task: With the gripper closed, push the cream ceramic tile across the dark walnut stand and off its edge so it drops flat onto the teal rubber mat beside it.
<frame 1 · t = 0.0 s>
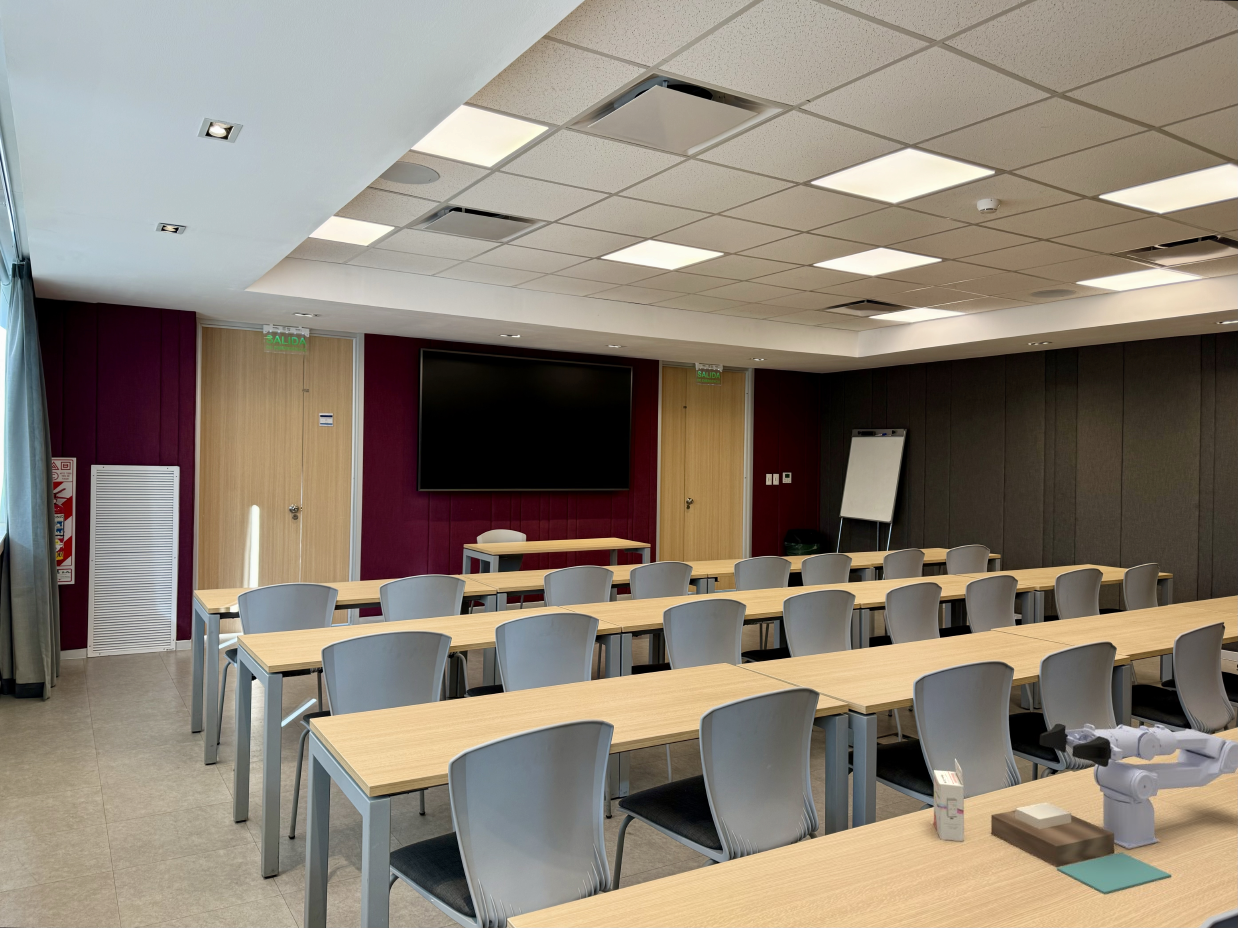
hand: (1057, 745, 167), 22 cm above the table, tool horizontal, fingers open, 7 cm apart
tile: (1043, 815, 174), point 5 cm above the table, touching stand
mat: (1113, 873, 159), on the table
stand: (1051, 843, 172), on the table
ink cartridge box: (948, 833, 177), on the table
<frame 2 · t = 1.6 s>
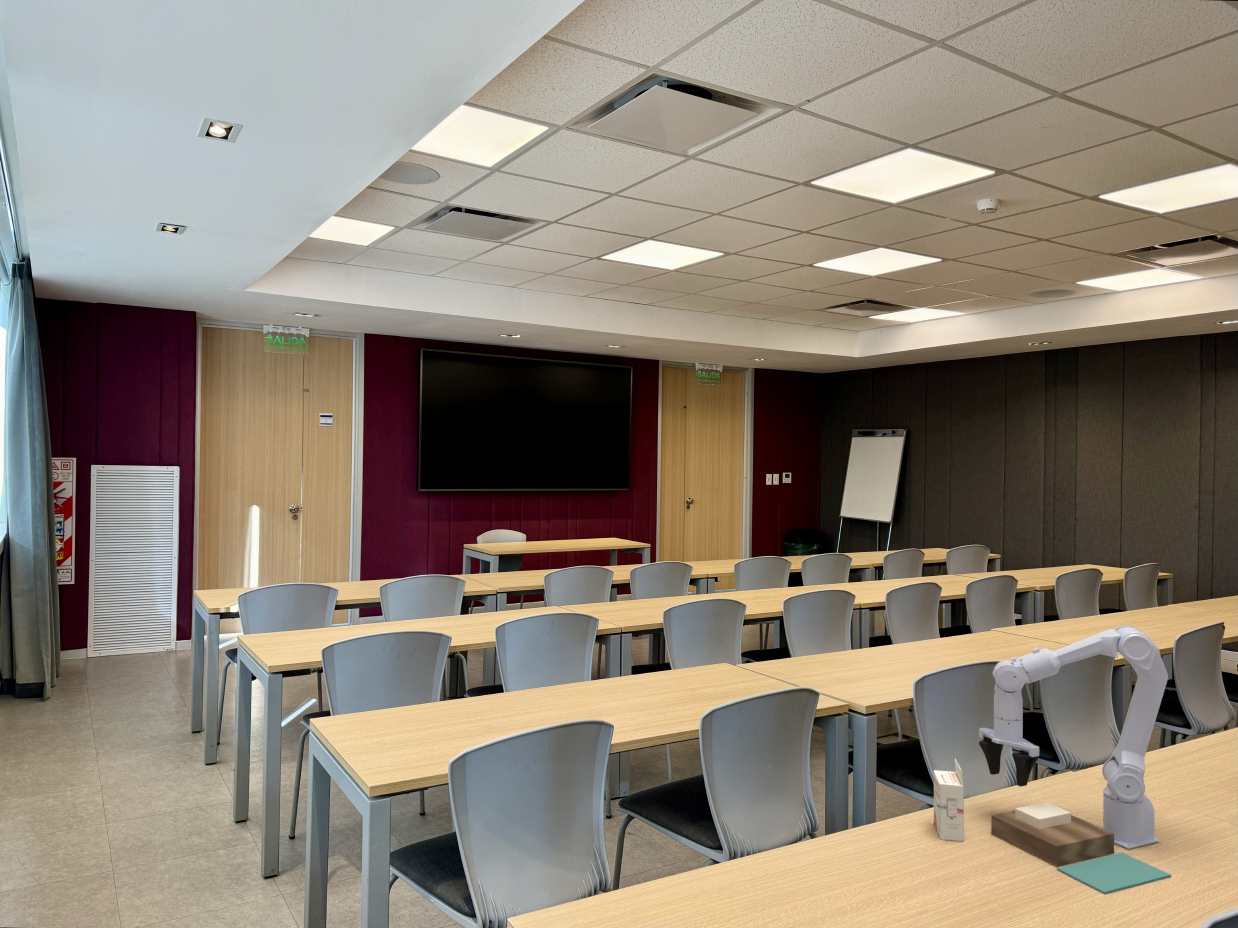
hand: (1008, 779, 182), 9 cm above the table, tool pointing down, fingers open, 7 cm apart
nothing on the table moved.
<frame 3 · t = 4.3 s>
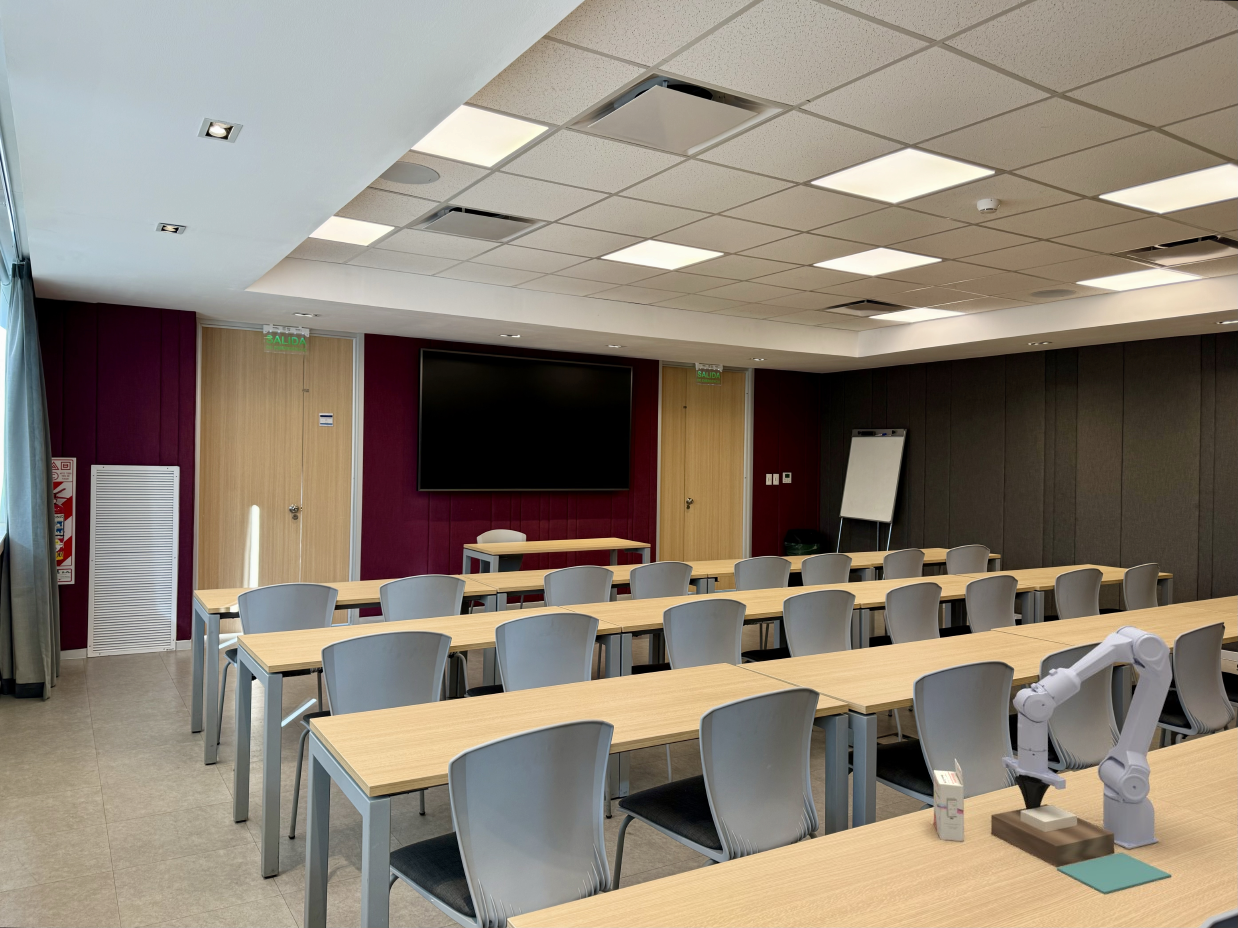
hand: (1032, 811, 176), 5 cm above the table, tool pointing down, fingers closed
tile: (1048, 817, 173), point 5 cm above the table, touching gripper, stand
everything else where it was.
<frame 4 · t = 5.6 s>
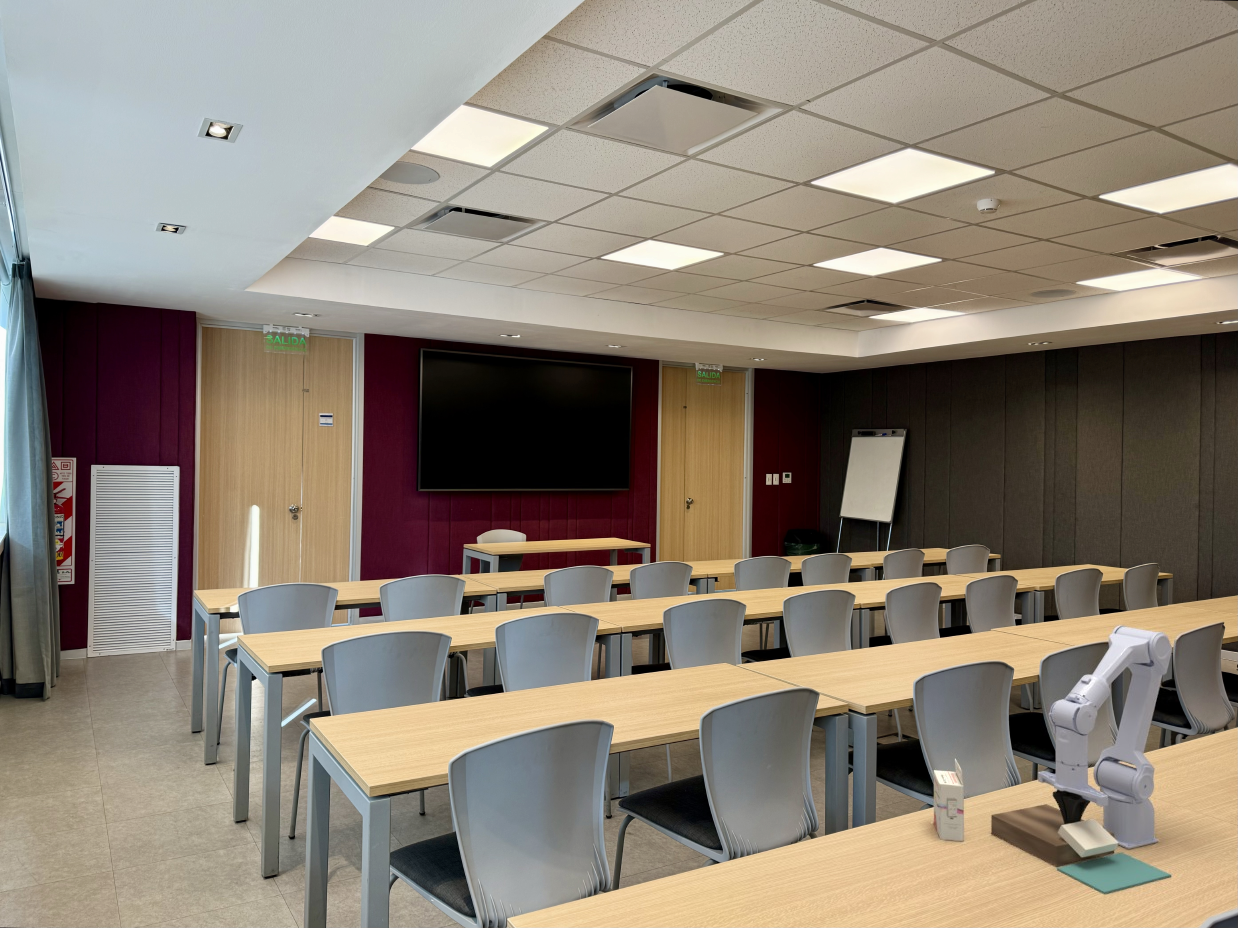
hand: (1071, 829, 168), 5 cm above the table, tool pointing down, fingers closed
tile: (1088, 837, 164), point 5 cm above the table, tilted 25°
everything else where it was.
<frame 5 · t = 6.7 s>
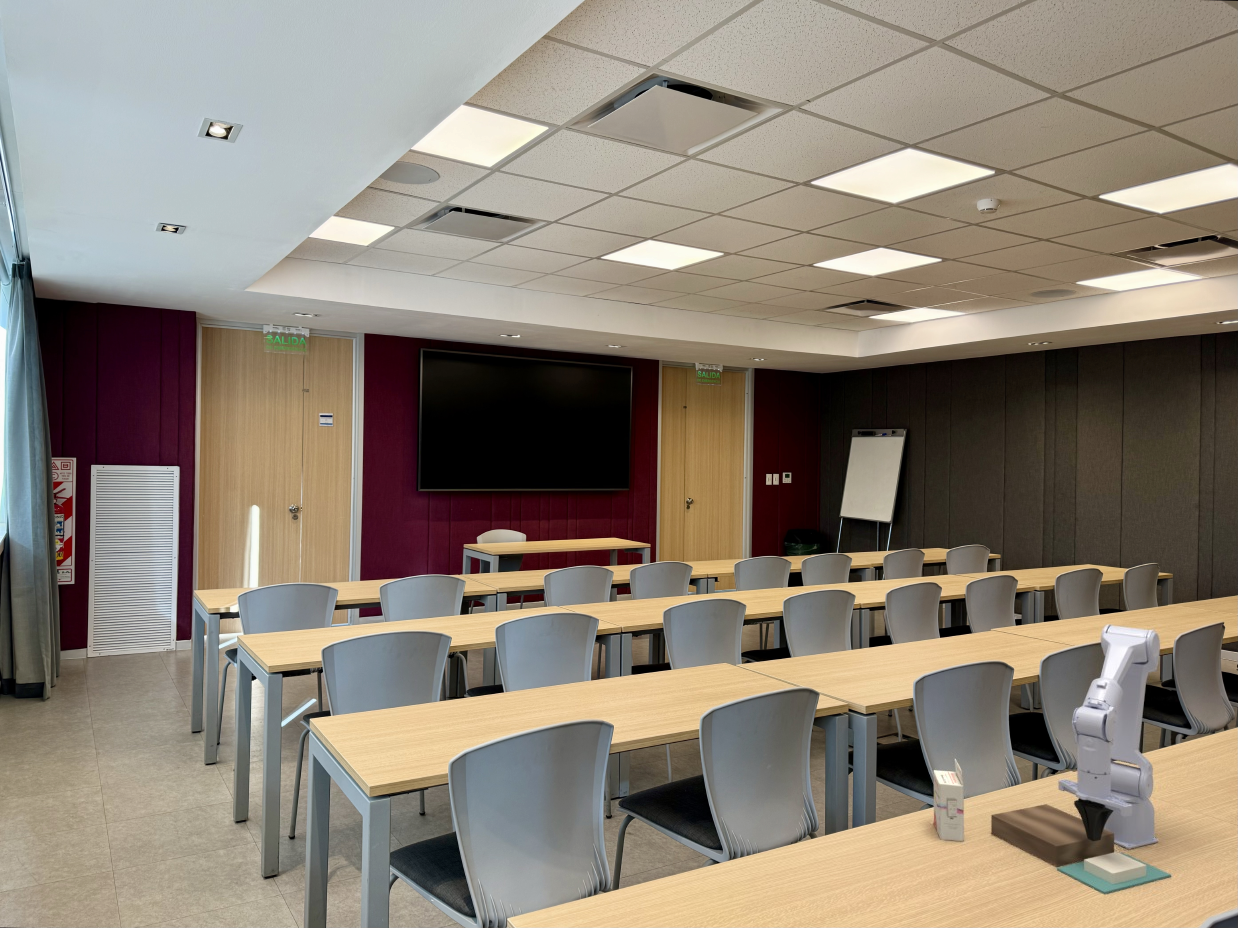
hand: (1094, 839, 163), 5 cm above the table, tool pointing down, fingers closed
tile: (1114, 867, 158), point 1 cm above the table, tilted 180°, touching mat
everything else where it was.
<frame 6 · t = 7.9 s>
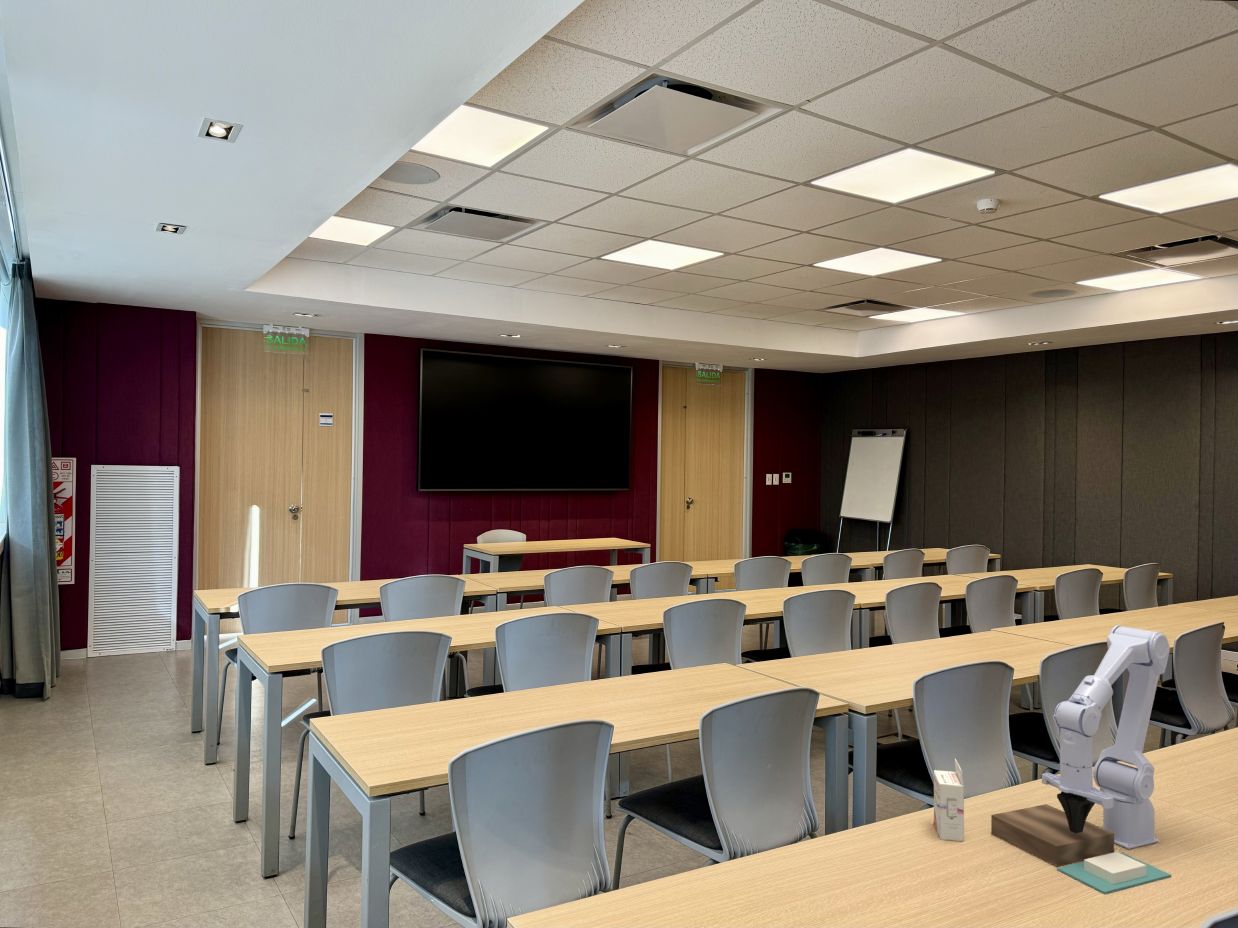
hand: (1076, 831, 167), 5 cm above the table, tool pointing down, fingers closed
nothing on the table moved.
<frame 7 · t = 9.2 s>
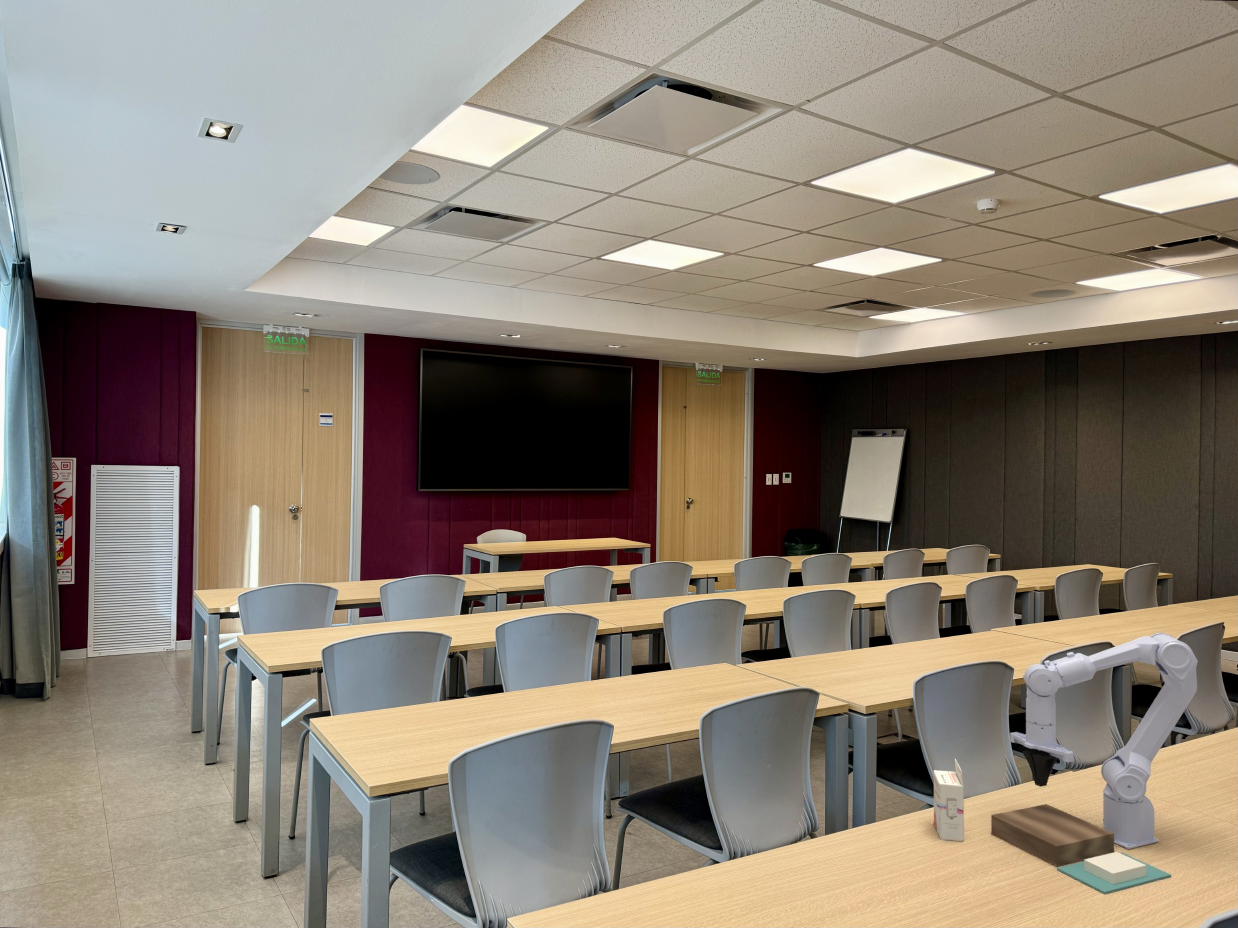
hand: (1040, 784, 179), 9 cm above the table, tool pointing down, fingers closed
nothing on the table moved.
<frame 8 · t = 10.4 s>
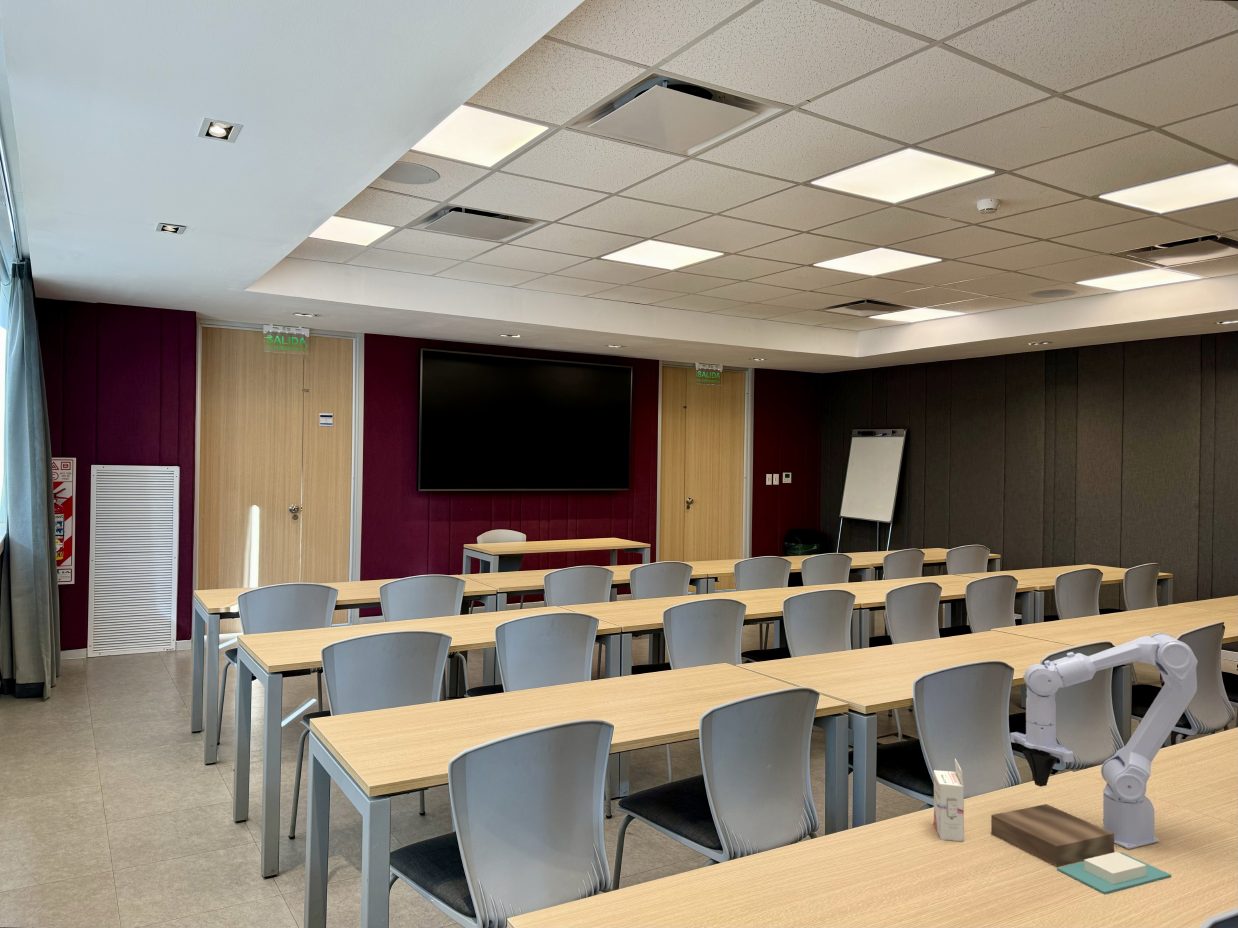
hand: (1040, 784, 179), 9 cm above the table, tool pointing down, fingers closed
nothing on the table moved.
at the end: tile inside the target area on the mat (0.5 cm from its centre), point 1.4 cm above the mat's base; tile point 1.4 cm above the table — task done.
